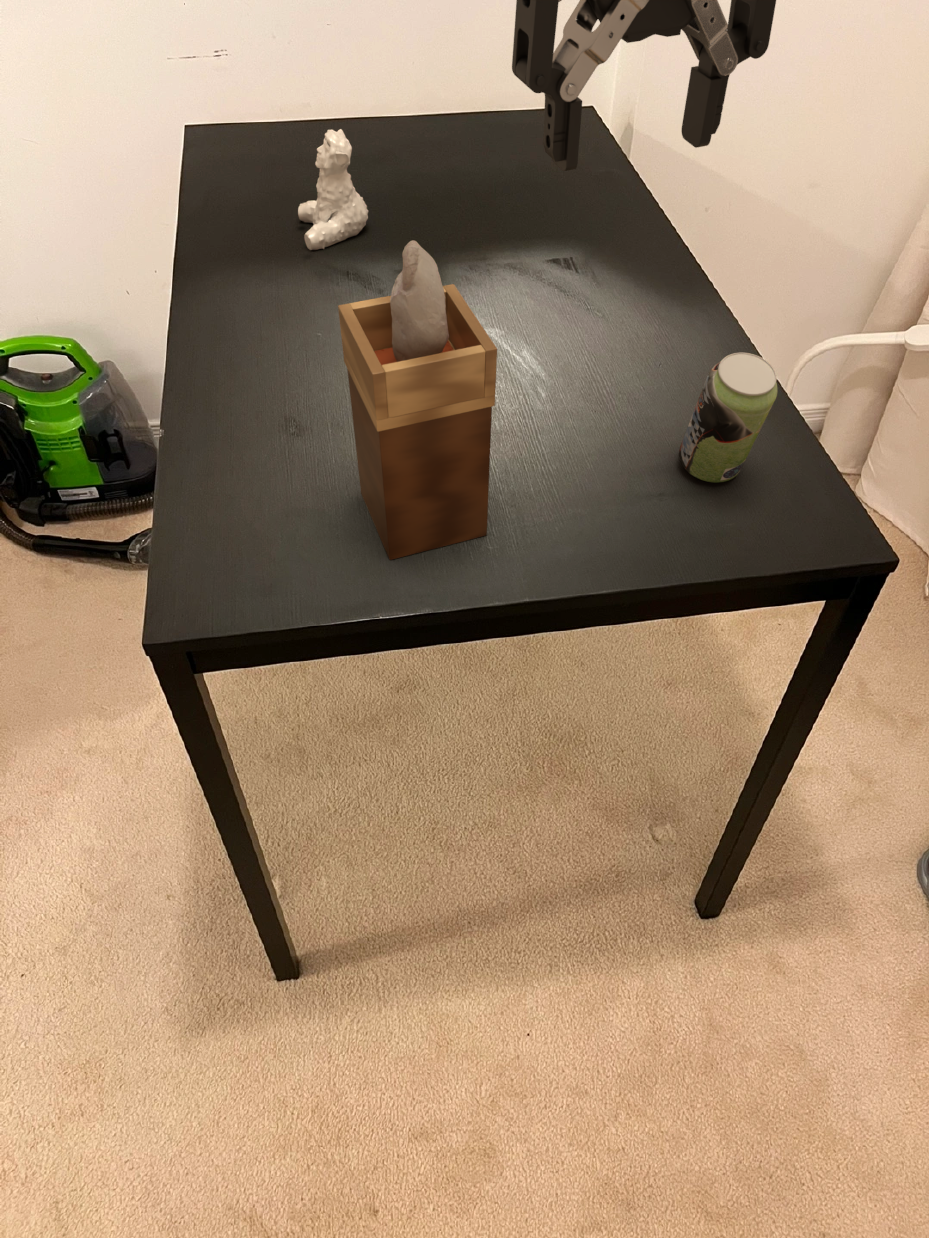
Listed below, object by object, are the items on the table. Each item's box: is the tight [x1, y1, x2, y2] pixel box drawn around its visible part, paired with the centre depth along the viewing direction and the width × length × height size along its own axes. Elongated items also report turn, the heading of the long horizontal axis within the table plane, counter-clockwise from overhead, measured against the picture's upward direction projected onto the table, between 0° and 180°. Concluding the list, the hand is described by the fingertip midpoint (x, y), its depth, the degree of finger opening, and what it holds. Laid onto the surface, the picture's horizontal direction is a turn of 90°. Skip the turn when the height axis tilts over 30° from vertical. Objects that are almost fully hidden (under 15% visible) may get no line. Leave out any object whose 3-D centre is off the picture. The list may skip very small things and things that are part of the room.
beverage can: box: [678, 352, 778, 483], centre depth 78 cm, size 6×7×12 cm
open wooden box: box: [337, 283, 498, 432], centre depth 66 cm, size 9×9×5 cm
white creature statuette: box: [297, 128, 369, 251], centre depth 107 cm, size 10×9×12 cm
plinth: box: [346, 368, 493, 561], centre depth 74 cm, size 9×9×14 cm
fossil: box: [390, 240, 449, 362], centre depth 63 cm, size 6×4×10 cm, turn 26°
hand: (630, 153), depth 51 cm, fingers open, 8 cm apart
